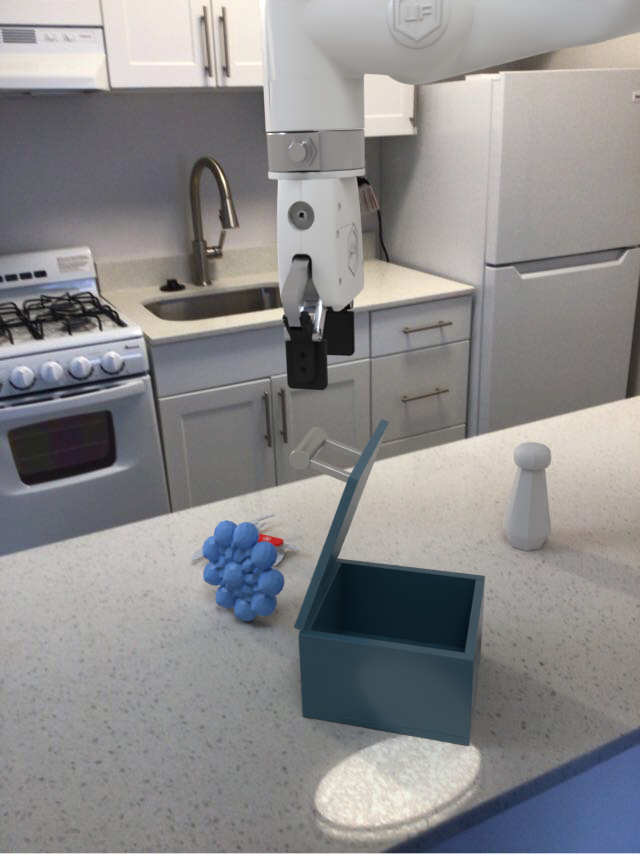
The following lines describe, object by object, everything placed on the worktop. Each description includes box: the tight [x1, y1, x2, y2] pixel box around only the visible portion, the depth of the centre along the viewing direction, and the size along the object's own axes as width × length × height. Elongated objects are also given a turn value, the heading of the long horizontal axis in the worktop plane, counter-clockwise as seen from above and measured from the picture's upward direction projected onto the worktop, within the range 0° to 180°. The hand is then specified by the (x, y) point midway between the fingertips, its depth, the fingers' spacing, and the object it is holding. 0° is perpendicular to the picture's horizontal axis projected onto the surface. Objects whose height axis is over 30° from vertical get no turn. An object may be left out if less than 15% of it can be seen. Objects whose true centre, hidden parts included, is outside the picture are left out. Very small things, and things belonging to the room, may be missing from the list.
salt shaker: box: [502, 441, 552, 552], centre depth 91 cm, size 6×6×13 cm
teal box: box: [297, 557, 486, 747], centre depth 69 cm, size 15×13×9 cm
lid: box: [288, 418, 390, 632], centre depth 66 cm, size 15×13×6 cm
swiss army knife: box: [190, 513, 302, 568], centre depth 94 cm, size 12×14×2 cm
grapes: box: [201, 519, 285, 622], centre depth 79 cm, size 12×7×12 cm, turn 49°
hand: (323, 370), depth 64 cm, fingers open, 9 cm apart
